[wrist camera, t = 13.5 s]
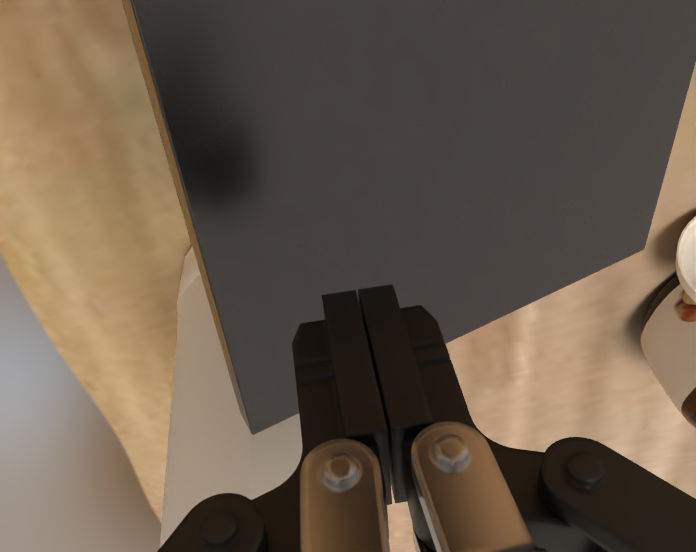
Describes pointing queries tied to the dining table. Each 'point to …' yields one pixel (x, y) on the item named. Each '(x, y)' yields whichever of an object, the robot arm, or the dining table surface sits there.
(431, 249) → the dark gray flat panel
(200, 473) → the bottle
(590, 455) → the robot arm
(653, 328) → the spread jar
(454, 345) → the dining table surface
